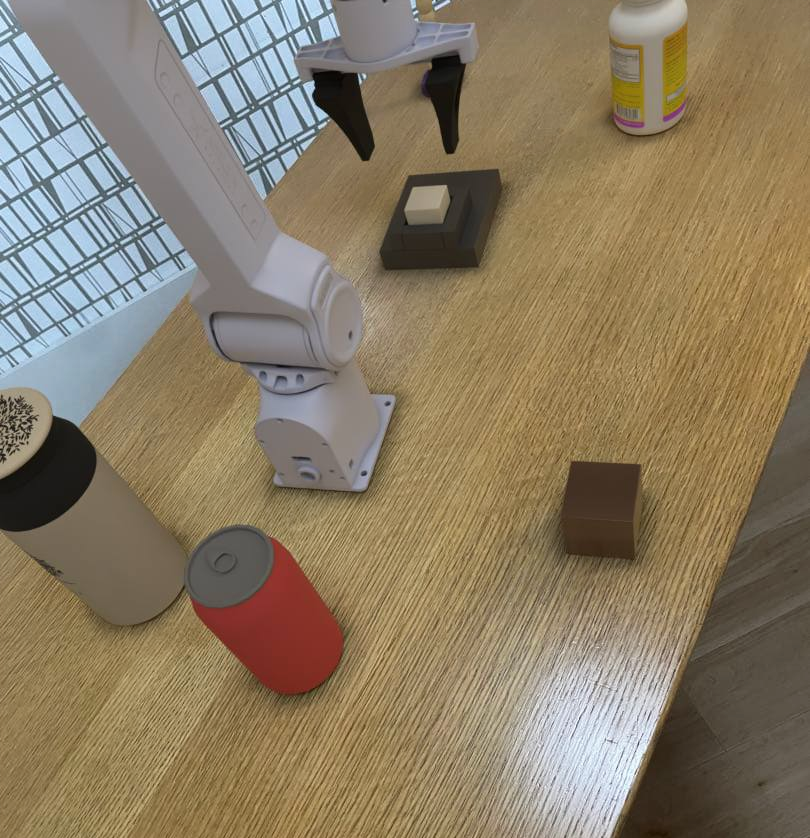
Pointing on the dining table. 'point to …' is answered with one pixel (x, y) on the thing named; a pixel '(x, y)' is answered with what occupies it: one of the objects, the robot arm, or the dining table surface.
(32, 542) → the travel mug
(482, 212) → the button base
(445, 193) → the key
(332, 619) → the beer can
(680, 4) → the supplement bottle
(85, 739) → the dining table surface
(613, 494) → the walnut block
